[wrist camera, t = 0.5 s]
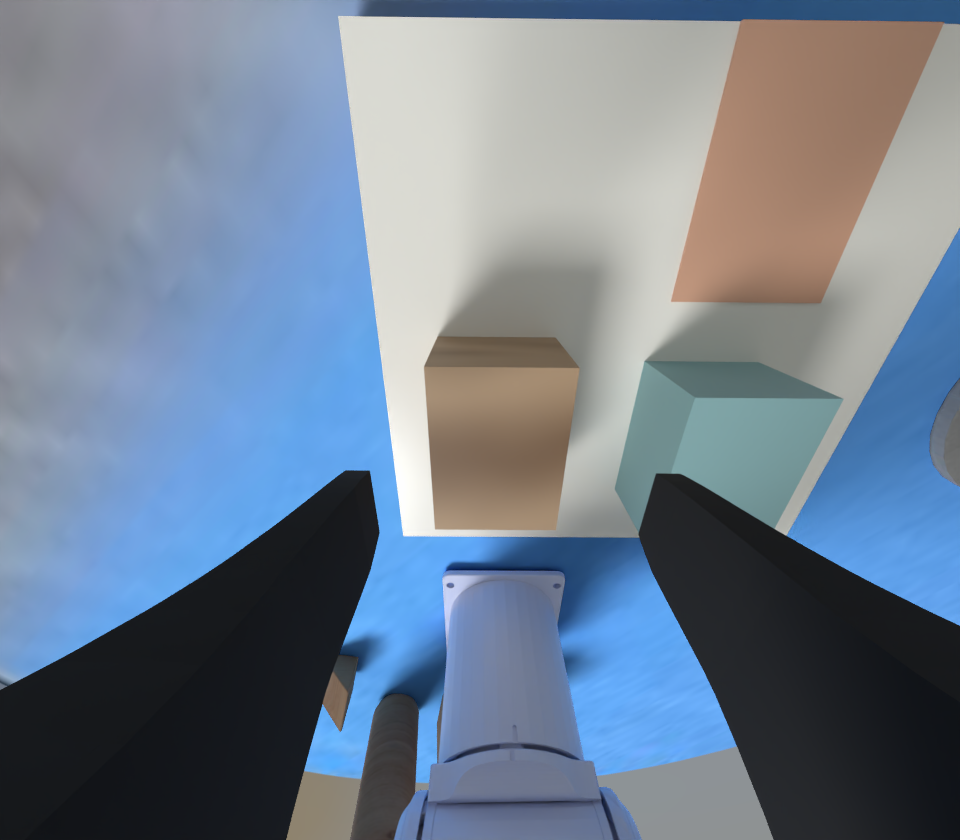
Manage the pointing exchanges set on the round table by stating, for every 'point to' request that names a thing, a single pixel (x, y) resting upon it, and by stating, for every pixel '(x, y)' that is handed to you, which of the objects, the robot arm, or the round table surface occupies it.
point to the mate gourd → (947, 437)
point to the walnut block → (498, 430)
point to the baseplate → (648, 210)
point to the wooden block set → (380, 754)
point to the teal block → (723, 433)
